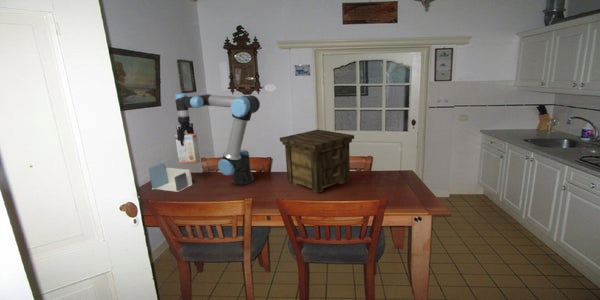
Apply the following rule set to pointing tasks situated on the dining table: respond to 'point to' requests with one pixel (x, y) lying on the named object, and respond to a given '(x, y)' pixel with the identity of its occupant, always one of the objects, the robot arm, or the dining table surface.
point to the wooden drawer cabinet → (317, 158)
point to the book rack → (167, 177)
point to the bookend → (181, 181)
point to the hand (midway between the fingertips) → (187, 148)
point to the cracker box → (188, 149)
